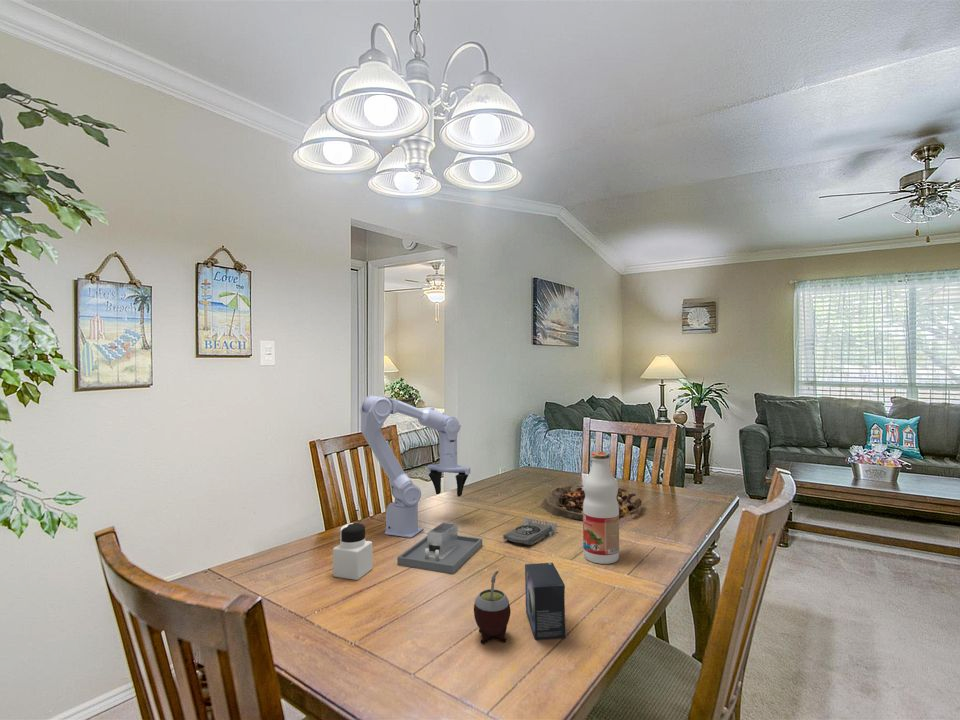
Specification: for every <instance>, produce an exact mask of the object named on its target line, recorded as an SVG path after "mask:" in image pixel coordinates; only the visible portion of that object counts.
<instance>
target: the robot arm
mask: <svg viewBox="0 0 960 720" xmlns="http://www.w3.org/2000/svg"><path fill="white" fill-rule="evenodd" d="M361 403H362V404H361V406H360V408H359V412H360V431H361V434H362V437H364V439H365V440H366V442H367V444H368V446H369V447H370V449H371V451H372V453H373V454H374V457H375V458H376V460H377V462H379V465H380V466H381V468H382V470H383V472H384V473H385V475H386V476H387V478H388V484H389V486H390V492H391V495H392V497H394V501H393V502H390V503H388V505H387V506H386V511H385V532H384V535H388V536H395V537H396V536H397V537H404V538H409V539H410V538H413V537H414V536H416V535H418V534H419V533H421V532H422V531H423V530H424V527H419V506H418V505H419V504H418V503H419V501H420V500H421V499H422V498H421V497H422V491H421V489H420V487H419V486H418V485H416V484H414V483H413V481H412V479H411V478H410V477H409V476H408V475H407V474H406V472H405V470H404V469H403V467H402V465H401V464H400V462H399V460H398V458H397V457H396V455H395V453H394V452H393V450H392V448H391V447H390V444H389V443H388V442H387V439H386V438H385V437H384V434H383V432H382V428H383V425H384V423H385V421H387V419H388V417H389V416H390V415H395V414H397V413H399V414H402V415H405V416H408V417H411V418H414V419H417V420H418V423H419V424H420V425H421V426H423V427H426V428H429V429H433V430H435V431H438V433H439V464H427V470H426V471H427V472H429V473H428V476H429V478H430V480H431V482H432V484H433V487H434V491H435V494H436V495H440V494H441V491H442V475H443V473H449V474H450V473H451V474H452V473H453V474H456V475H455V480H456V494H457V497H458V498H459V497H462V495H463V492H464V491H463V490H464V487H465V484H466V481H467V479H468V477H469V475H471V467H468V466H463V465H458V433H459V432H460V430H461V426H462V425H461V424H460V421H459V420H458V418H456V417H455V416H450V415H447V412H445V411H444V412H440V411H437V410H435V407H432V406H429V407H424V408H422V409H420V408H419V407H416V406H413V405H411V404H409V403H405V402H404V401H401V400H399V399H394V398H388V397H387V396H386V397H385V396H377V395H375V394H369V395H368V396H366V397H365V398H364V399H363V401H362V402H361Z"/></svg>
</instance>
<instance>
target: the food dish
mask: <svg viewBox="0 0 960 720" xmlns="http://www.w3.org/2000/svg"><path fill="white" fill-rule="evenodd" d="M573 487H574V486H573V485H570V486H568V485H567V486H563V487H555V488H554V489H552V490H551V491H549V492H548V493H547V494H546V495H545V497H544V499H543V501H542V503H540V509H542V510H543V511H546V512H547V513H549V514H551V515H553V516H555V517H561V518H565V519H571V520H577V521H583V502H584V499H585V493H584V489H583V485H576V486H575V487H577V488H575V489H573V490H572V488H573ZM571 490H572V491H571ZM627 492H628V490H627V489H624V488H619V487H618V493H617V496H616V499H617V501H618V505H619V520H621V519H623V518H625V517H627V516H632V515H640V514H641V513H642V512H641V511H642V503H643V501H642V498H639V497H638V498H637V499H635V501H634V503H633V504H632V502H631V499H632V498H633V497H636V495H637V494H636V493H634V492H633V493H628V494H627V495H623V493H627Z"/></svg>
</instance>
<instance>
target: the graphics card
mask: <svg viewBox="0 0 960 720" xmlns="http://www.w3.org/2000/svg"><path fill="white" fill-rule="evenodd" d="M522 521H523V523H522V524H521V525H519V526H517V527H515V528H514V529H511V530H510V531H507V532H506V533H504V534H503V535H502V536H503V537H502V538H503V540H508V541H510V542H513V543H516V544H517V543H518V544H523V545H530V546H532V545H533V544H535V543H537V542H539V541H540V540H542V539H543V541H542V542H545V541H547V540H548V539H550V538H551V537H553V536H555V535H556V533H558V526H557V525H558V522H555V523H554V522H553V521H548V520H542V519H539V518H538V519H537V518H533V517H532V518H531V517H528V516H524V517H522Z"/></svg>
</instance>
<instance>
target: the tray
mask: <svg viewBox="0 0 960 720" xmlns="http://www.w3.org/2000/svg"><path fill="white" fill-rule="evenodd" d="M482 547H483V538H482V537H481V538H480V537H472V536H465V535H458V546H456V547H455V548H454V549H452V550H451V551H450V552H448V553H447V554H446V555H444V556H443V557H439V550H435V556H432V555H429V548H427V535H426V536H425V537H423V538H422V539H421V540H419V541H418V542H416V543H415V544H414V545H412V546H411V547H409V548H408V549H407V550H406V551H404V552H403V553H402V554H400V555H398V556H397V557H396V558H397V559H396V560H397V563H396V564H397V566H403V567H408V568H414V569H420V570H426V571H432V572H437V573H445V574H449V575H450V574H451V575H454V574H455V573H456V572H457V571H458V570H459V569H460V568H461V567H462V566H464V564H465V563H466V562H467V561H469V560H470V558H472V556H473V555H475V553H476V552H477V551H478V550H480V549H481V548H482Z"/></svg>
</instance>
